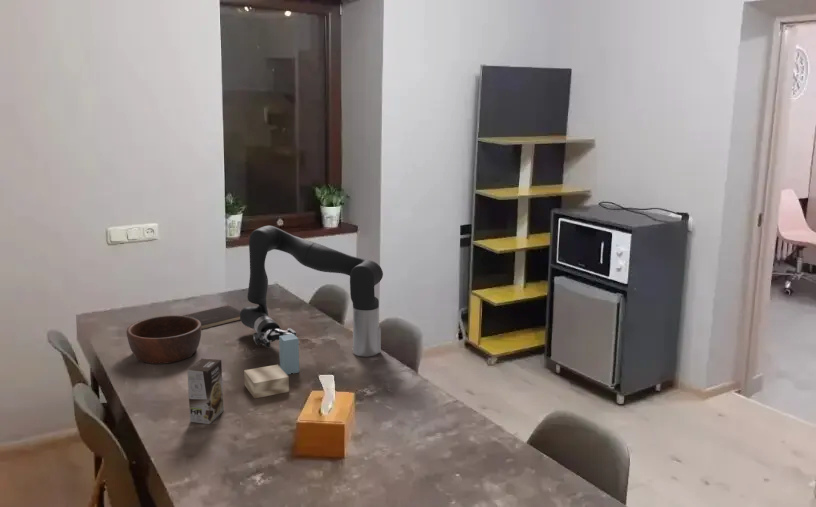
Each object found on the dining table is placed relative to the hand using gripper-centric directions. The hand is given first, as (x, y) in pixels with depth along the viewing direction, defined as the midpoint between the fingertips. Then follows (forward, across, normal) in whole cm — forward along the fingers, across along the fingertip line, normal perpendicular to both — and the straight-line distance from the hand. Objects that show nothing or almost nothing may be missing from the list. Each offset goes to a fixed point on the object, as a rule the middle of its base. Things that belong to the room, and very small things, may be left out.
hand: (281, 343), depth 243 cm
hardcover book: (-55, -11, +8) cm, 57 cm away
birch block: (+18, -11, +7) cm, 23 cm away
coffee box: (+30, -32, +7) cm, 44 cm away
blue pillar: (+8, 0, +7) cm, 11 cm away
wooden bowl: (-26, -34, +7) cm, 43 cm away
